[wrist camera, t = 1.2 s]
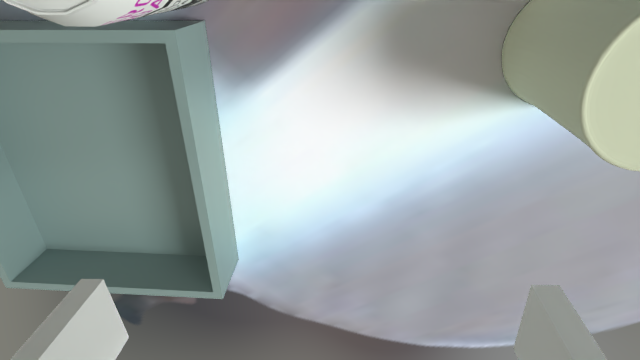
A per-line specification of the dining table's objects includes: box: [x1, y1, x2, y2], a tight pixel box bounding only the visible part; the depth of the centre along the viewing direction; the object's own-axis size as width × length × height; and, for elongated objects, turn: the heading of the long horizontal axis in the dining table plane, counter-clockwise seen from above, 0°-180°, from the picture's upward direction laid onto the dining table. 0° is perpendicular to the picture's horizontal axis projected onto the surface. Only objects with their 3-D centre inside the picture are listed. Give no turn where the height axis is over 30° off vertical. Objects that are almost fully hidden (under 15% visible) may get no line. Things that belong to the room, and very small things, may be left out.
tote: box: [0, 21, 239, 299], centre depth 33 cm, size 24×22×6 cm
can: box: [502, 0, 640, 171], centre depth 23 cm, size 9×9×12 cm
